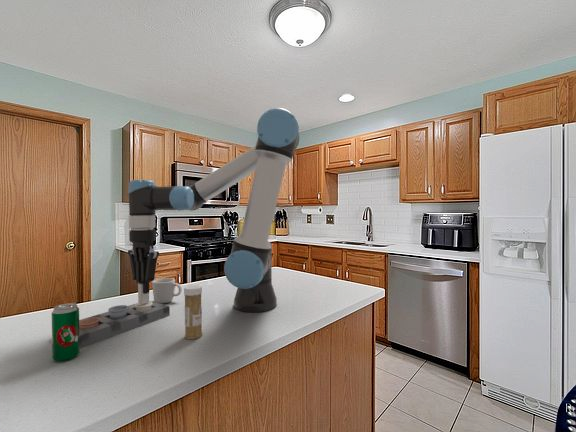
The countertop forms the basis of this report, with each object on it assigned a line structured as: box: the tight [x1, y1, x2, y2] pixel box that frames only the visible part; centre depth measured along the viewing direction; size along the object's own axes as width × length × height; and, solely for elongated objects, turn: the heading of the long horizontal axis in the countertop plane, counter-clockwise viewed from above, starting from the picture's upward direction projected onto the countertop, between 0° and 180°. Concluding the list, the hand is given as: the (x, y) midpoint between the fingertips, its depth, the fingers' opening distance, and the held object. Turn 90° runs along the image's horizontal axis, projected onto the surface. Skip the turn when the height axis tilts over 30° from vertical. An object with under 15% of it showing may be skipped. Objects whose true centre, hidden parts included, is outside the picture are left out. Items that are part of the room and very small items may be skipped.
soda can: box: [51, 302, 81, 363], centre depth 67 cm, size 5×5×12 cm
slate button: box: [107, 304, 129, 320], centre depth 86 cm, size 5×5×3 cm
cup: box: [151, 277, 183, 304], centre depth 109 cm, size 11×8×8 cm
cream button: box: [134, 301, 153, 311], centre depth 93 cm, size 5×5×3 cm
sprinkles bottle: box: [183, 284, 203, 340], centre depth 78 cm, size 5×5×13 cm
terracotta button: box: [79, 316, 100, 330], centre depth 79 cm, size 5×5×3 cm
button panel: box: [79, 300, 170, 349], centre depth 86 cm, size 12×26×3 cm, turn 149°
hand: (143, 302), depth 93 cm, fingers closed
